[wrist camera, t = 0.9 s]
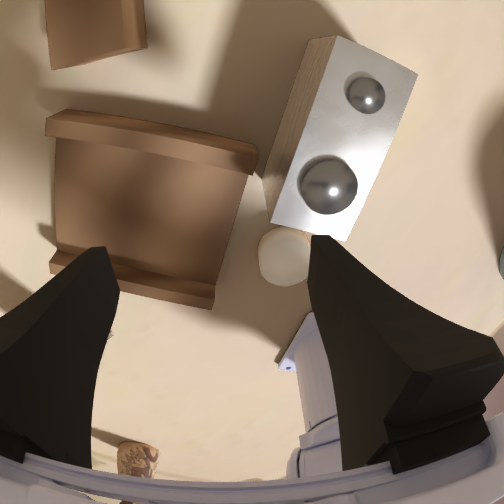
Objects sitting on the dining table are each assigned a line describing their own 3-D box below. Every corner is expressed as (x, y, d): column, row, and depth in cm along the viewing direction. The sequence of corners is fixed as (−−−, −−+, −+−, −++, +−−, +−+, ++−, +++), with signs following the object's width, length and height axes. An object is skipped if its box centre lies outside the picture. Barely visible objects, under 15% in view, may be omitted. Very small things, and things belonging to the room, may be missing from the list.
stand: (255, 145, 18) (258, 158, 16) (213, 286, 24) (211, 310, 22) (66, 109, 16) (46, 118, 14) (63, 253, 22) (50, 273, 20)
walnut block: (142, -14, 12) (119, -28, 9) (148, 48, 15) (125, 47, 11) (79, 5, 12) (44, -1, 9) (84, 64, 15) (51, 70, 11)
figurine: (163, 457, 47) (159, 517, 37) (125, 453, 46) (118, 511, 36) (155, 444, 43) (149, 511, 33) (113, 438, 42) (104, 503, 32)
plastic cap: (316, 232, 22) (323, 248, 20) (298, 272, 24) (302, 290, 22) (266, 219, 21) (269, 236, 20) (251, 262, 23) (252, 280, 22)
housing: (371, 65, 16) (421, 75, 11) (320, 194, 20) (346, 244, 16) (308, 40, 15) (339, 34, 10) (261, 178, 20) (270, 225, 15)
